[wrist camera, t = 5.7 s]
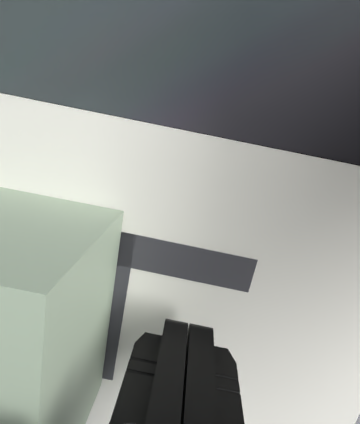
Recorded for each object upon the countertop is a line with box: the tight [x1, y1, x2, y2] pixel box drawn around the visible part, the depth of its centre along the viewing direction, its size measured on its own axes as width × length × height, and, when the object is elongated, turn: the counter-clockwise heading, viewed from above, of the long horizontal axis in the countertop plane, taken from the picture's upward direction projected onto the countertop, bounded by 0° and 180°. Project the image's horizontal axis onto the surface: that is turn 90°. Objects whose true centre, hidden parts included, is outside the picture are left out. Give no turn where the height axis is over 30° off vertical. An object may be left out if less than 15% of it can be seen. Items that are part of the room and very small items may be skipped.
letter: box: [0, 93, 360, 424], centre depth 11 cm, size 12×16×1 cm
